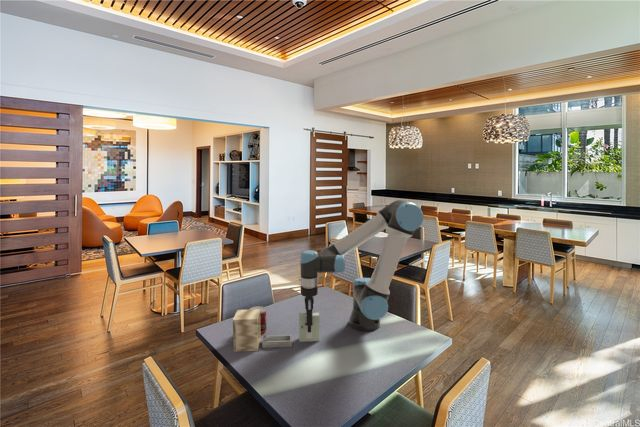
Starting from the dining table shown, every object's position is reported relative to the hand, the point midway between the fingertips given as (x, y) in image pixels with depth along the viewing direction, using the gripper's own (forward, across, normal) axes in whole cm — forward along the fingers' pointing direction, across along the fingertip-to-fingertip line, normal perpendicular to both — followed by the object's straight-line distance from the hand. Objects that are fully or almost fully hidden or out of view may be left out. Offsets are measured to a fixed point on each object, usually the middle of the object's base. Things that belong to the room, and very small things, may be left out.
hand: (309, 335), depth 147 cm
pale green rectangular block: (+2, 0, 0) cm, 2 cm away
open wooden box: (+2, +3, -27) cm, 27 cm away
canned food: (+2, -9, -24) cm, 26 cm away
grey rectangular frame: (+2, +3, -14) cm, 14 cm away
